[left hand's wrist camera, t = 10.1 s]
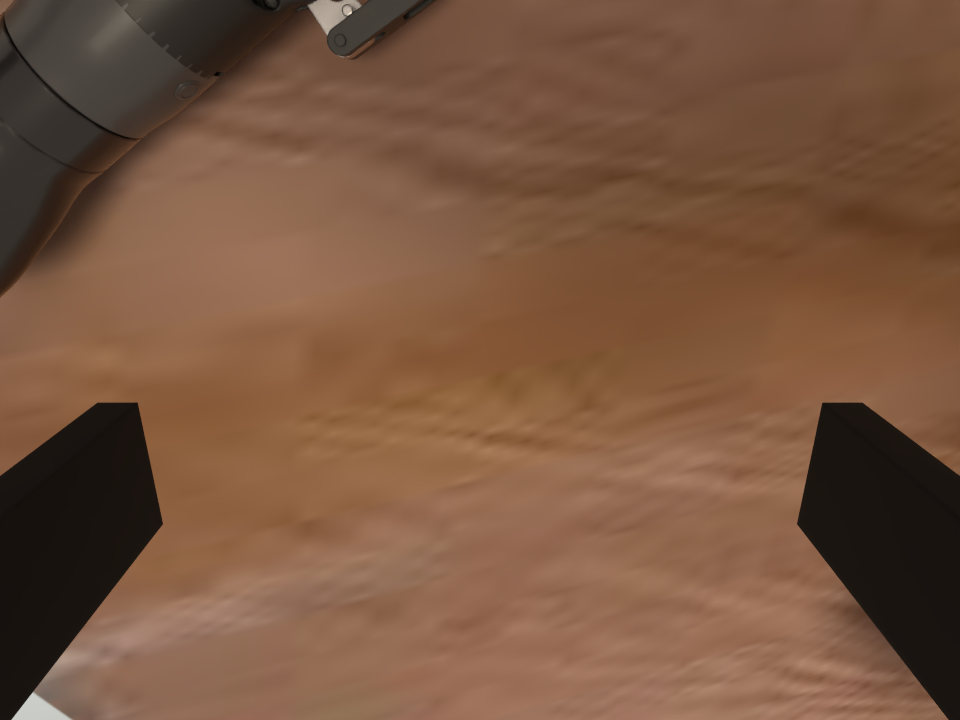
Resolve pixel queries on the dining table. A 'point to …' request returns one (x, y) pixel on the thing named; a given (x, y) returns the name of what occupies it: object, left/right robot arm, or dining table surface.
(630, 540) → the dining table surface
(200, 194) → the dining table surface
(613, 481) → the dining table surface
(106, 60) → the right robot arm
